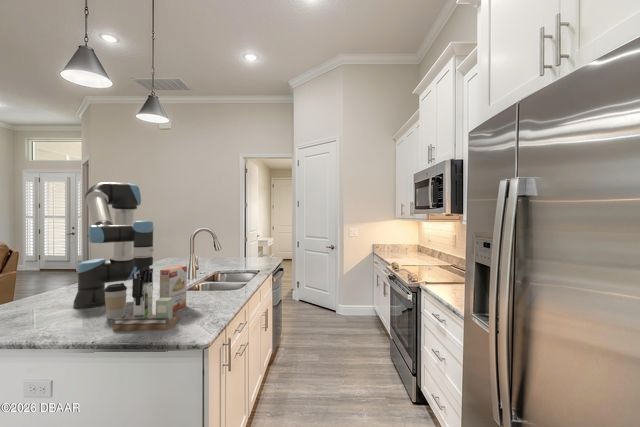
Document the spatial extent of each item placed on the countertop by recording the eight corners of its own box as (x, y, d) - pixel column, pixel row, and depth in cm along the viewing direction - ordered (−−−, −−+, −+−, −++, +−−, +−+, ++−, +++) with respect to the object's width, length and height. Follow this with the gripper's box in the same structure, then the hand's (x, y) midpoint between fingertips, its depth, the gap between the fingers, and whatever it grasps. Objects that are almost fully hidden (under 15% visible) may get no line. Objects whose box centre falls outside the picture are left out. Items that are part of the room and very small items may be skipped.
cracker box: (169, 313, 156) (170, 270, 156) (158, 313, 157) (158, 269, 157) (187, 305, 169) (187, 265, 169) (176, 305, 170) (177, 265, 170)
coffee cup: (110, 321, 145) (110, 287, 145) (100, 317, 149) (100, 284, 149) (130, 315, 152) (131, 283, 152) (120, 312, 157) (121, 281, 157)
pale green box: (155, 322, 138) (155, 300, 138) (160, 318, 143) (160, 297, 143) (167, 322, 138) (167, 300, 138) (172, 318, 143) (172, 297, 143)
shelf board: (112, 330, 133) (112, 319, 133) (131, 319, 147) (131, 309, 147) (167, 329, 134) (167, 318, 134) (180, 318, 148) (180, 308, 148)
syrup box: (132, 319, 137) (132, 284, 137) (139, 314, 143) (139, 281, 143) (146, 319, 137) (147, 284, 137) (152, 314, 143) (153, 281, 143)
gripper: (141, 259, 131) (140, 317, 131) (161, 253, 149) (161, 304, 149) (122, 259, 130) (121, 317, 130) (144, 253, 149) (144, 304, 149)
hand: (142, 310), depth 140 cm, fingers closed on syrup box, 6 cm apart
